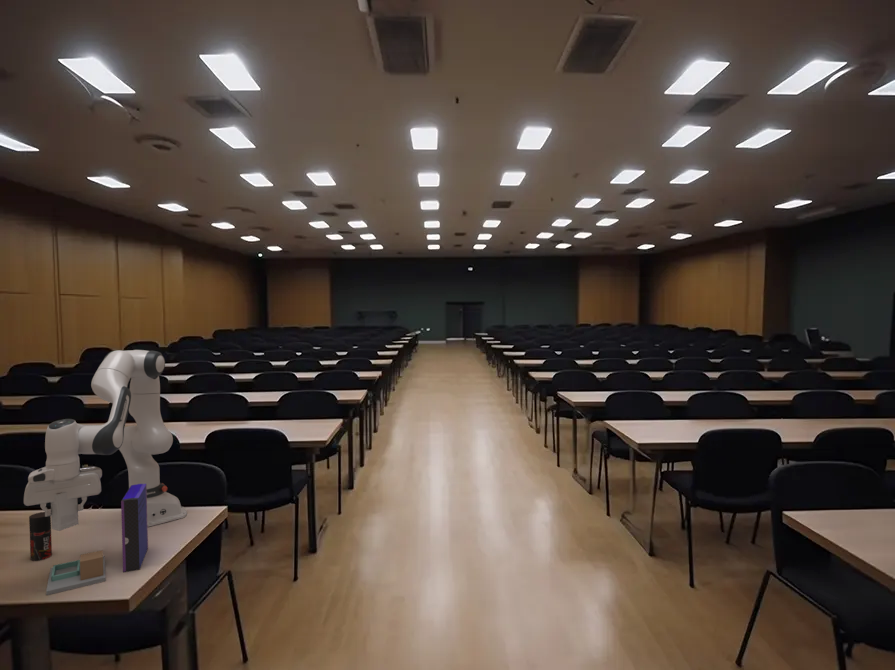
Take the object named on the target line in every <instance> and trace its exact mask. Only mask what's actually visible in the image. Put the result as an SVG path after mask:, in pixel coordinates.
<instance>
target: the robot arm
mask: <svg viewBox="0 0 895 670" xmlns="http://www.w3.org/2000/svg"><path fill="white" fill-rule="evenodd" d="M165 366H166V360H165V357H164V355H163V354H162V352H160V351H156V350H144V349H133V350H121V349H120V350H114V351H110V352H108V353H107V354H106V355H105V356H104V358H103V360H102V362H101V363H100V364H99V366H98V368H97V370H96V371H95V373H94V375H93V377H92V379H91V384H90V386H91V389H92V392H93V393H94V395H96V396H97V397H98V398H99V399H101V400H103V401H105V402H108V403H110V404H112V406H111V410H110V414H109V417H108V420H107V422H105V423H102V424H98V425H97V424H96V425H95V424H94V425H93V424H91V425H90V424H81V423H77V422H76V420H75V419H72V418H65V419H64V418H63V419H58V420H55V421H53V422H51V423H49V424H48V425H47V428H46V431H45V437H44V438H45V440H44V441H45V442H44V449H45V451H44V452H45V453H46V461H45V466H44V467H41V468H39V469H36V470H33V471H32V472H30V473H29V475H28V477H27V481H28V482H27V484H26V485H25V488H24V494H23V504H24V506H27V507H29V506H35V505H40V508H41V509H42V512H45V517H47V516H51V508H48V507H47V504H49V503H51V502H54V501H55V494H57V493H62V492H67V499H73V498H77V499H79V498H81V503H80V504H78V512H80V511H84V505H85V504H86V502H87V500H88V497H90V496H97V495H100V494H101V492H102V483H101V478H102V477H103V470H102V469H101V468H100V467H98V466H90V467H89V466H88V467H81V464H80V456H79V455H81V454H82V455H101V456H110V455H113V454H114V453H117V451H118V450H119V452H120V453H121V455H122V457H123V459H124V461H125V464H126V468H127V471H128V473H127V474H128V488H127V491H128V490H129V488H130V487H131V485H137V484H146V488H147V527H148V528H149V527H152V526H157V525H160V524H164V523H167V522H172V521H176V520H180V519H183V518H185V517H187V515H188V510H187V509H186V507H184V506H182V505H181V502H180V500H179V498H178V497H177V496H175V495H174V494H171V493H169V492H167V491H168V487H167V485H165V484H164V483H163V482H160V480H161V479H160V476H161V475H160V466H159V463H158V462H157V461H156V460H155V459H154V458H153V455H159V454H164V453H166V452H169V450H170V448H171V447H172V445H173V442H174V438H173V434H172V432H171V431H169V430H168V428H167V427H166V425H165V423H164V420H163V417H162V414H161V383H160V376H161V374H163V372H164V370H165ZM129 382H130V383H129ZM128 385H129V387H128ZM129 414H130V416H131V417H132V418H133V419H134V421H135V423H136V425H127V426H126V423H127V420H128V415H129Z"/></svg>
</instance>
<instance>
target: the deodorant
mask: <svg viewBox="0 0 895 670" xmlns="http://www.w3.org/2000/svg"><path fill="white" fill-rule="evenodd" d="M28 520H29V521H28V522H29V549H30V550H29V552H30V553H29V554H30V561H33V562H38V561H44V560H47V559H49V558H51V557H52V556H53V553H52V551H53V549H52V548H53V547H52V545H53V544H52V523H51V516H47V517H45V512H44V511H41V512H36V513H33V514H31V515H29V517H28Z"/></svg>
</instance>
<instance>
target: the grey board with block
mask: <svg viewBox="0 0 895 670" xmlns="http://www.w3.org/2000/svg"><path fill="white" fill-rule="evenodd" d="M103 552H104V550H103V549H102V550H97V551H92V552H88V553H83V554H80V557H79V558H80V559H78V560H73V561H68V562H64V563H57V564H53V565H52V567H50V570H49V575H48V580H47V586H46V590H45V591H46V595H45V596H49V595H50V596H51V595H53V594H57V593H58V594H59V593H61V592H66V591H70V590H71V591H72V590H74V589H78V588H79V589H80V588H82V587H86V586H91V585H95V583H96V584H99V582H100V583H102V582H103V581H104V582H106V558H105V555H104V553H103Z"/></svg>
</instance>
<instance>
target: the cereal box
mask: <svg viewBox="0 0 895 670" xmlns="http://www.w3.org/2000/svg"><path fill="white" fill-rule="evenodd" d="M128 488H129V487H128ZM120 503H121V504H120V506H121V507H120V508H121V509H120V510H121V511H120V513H121V515H120V516H121V543H122V544H121V545H122V550H121V551H122V573H128V572H129V573H130V572H133V571H135V572H136V571H139V570H141V568H142V565H143V562H144V561H145V560H144V559H145V557H146V555H147V552H148V550H149V539H148V538H149V535H148V530H149V529H148V528H149V527H147V488H146V484H137V485H131V487H130V488H129V490H128V489H127V491H126V493H125V494H124V496H123V498H122V499H121V501H120Z"/></svg>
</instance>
